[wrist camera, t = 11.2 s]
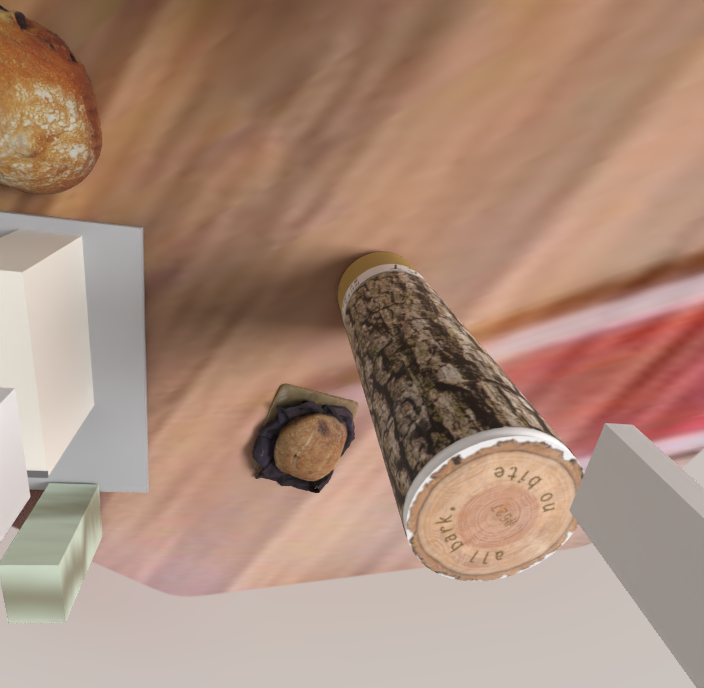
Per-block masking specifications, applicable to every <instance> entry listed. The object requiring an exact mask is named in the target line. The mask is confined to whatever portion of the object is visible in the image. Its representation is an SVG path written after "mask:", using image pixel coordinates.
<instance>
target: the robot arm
mask: <svg viewBox="0 0 704 688" xmlns="http://www.w3.org/2000/svg"><path fill="white" fill-rule="evenodd" d="M29 498H30V490H29V483H28V476H27V469H26V462H25V455H24V449H23V442H22V435H21V428H20V421H19V414H18V407H17V400H16V393H15V388H2V387H0V543H1V541H2V539H3V538H4V536H5V535H6V533H7V532H8V530H9V529H10V527H11V526H12V524H13V523H14V521H15V520H16V518H17V517H18V515H19V514H20V512H21V511H22V509H23V507H24V506H25V504H26V503H27V501H28V500H29ZM569 511H570V512H571V514H572V515H573V516H574V518H575V519H576V521H577V522H578V523H579V525H580V526H581V527H582V529H583V530H584V532H585V533H586V534H587V536H588V537H589V539H590V540H591V541H592V543H593V544H594V546H595V547H596V548H597V550H598V551H599V552H600V554H601V555H602V557H603V558H604V559H605V561H606V562H607V564H608V565H609V566H610V568H611V569H612V571H613V572H614V573H615V575H616V576H617V578H618V579H619V580H620V582H621V583H622V584H623V586H624V587H625V589H626V590H627V591H628V593H629V594H630V596H631V597H632V598H633V600H634V601H635V602H636V604H637V605H638V606H639V608H640V610H641V611H642V612H643V614H644V615H645V616H646V618H647V619H648V621H649V622H650V623H651V625H652V626H653V627H654V629H655V630H656V632H657V633H658V634H659V636H660V637H661V639H662V640H663V641H664V643H665V644H666V646H667V647H668V648H669V650H670V651H671V653H672V654H673V655H674V657H675V658H676V660H677V661H678V662H679V664H680V665H681V666H682V668H683V669H684V671H685V672H686V673H687V675H688V676H689V678H690V679H691V680H692V682H693V683H694V685H695V686H696V687H697V688H704V488H703V487H702V486H701V485H700V484H699V483H697V482H696V481H695V480H694V479H693V478H692V477H691V476H689V475H688V474H687V473H686V472H685V471H684V470H683V469H682V468H681V467H679V466H678V465H677V464H676V463H675V462H674V461H673V460H672V459H671V458H669V457H668V456H667V455H666V454H665V453H664V452H663V451H662V450H660V449H659V448H658V447H657V446H656V445H655V444H654V443H653V442H651V441H650V440H649V439H648V438H647V437H646V436H645V435H644V434H643V433H641V432H640V431H639V430H638V429H637V428H636V427H635V426H634V425H627V424H610V423H605V425H604V427H603V430H602V432H601V434H600V437H599V439H598V442H597V444H596V447H595V449H594V451H593V454H592V456H591V459H590V461H589V464H588V466H587V468H586V471H585V473H584V476H583V478H582V481H581V483H580V485H579V488H578V490H577V493H576V495H575V497H574V500H573V502H572V505H571V507H570V510H569Z"/></svg>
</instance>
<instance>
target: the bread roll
mask: <svg viewBox="0 0 704 688" xmlns="http://www.w3.org/2000/svg"><path fill="white" fill-rule="evenodd" d="M101 147H102V132H101V128H100V120H99V117H98V108H97V104H96V99H95V95H94V92H93V88H92V85H91V81H90V79H89V77H88V75H87V73H86V70H85V68H84V66H83V64H82V63H81V62H80V60H79V59H78V58H77V57H76V56H75V55H74V54H73V53H72V52H71V51H70V49H69V48H68V46H67V45H66V44H65V42H64V41H63V40H62V39H61V38H60V37H59V36H58V35H57V34H54V33H52V32H51V31H49V30H47V29H46V28H44V27H42V26H40V25H39V24H37V23H35V22H33V21H31V20H29V19H27V18H25V16H24V15H23V14H22V13H21V12H18V11H7V10H6V9H5V8H4V7H2V6H1V5H0V184H3V185H6V186H9V187H12V188H16V189H18V190H21V191H24V192H28V193H32V194H54V193H60V192H63V191H66V190H68V189H70V188H72V187H74V186H76V185H77V184H79V183H80V182H81V181H82V180H83V179H85V178H86V177H87V175H88V174H89V173H90V172H91V170H92V169H93V167H94V165H95V163H96V162H97V160H98V158H99V155H100V151H101Z"/></svg>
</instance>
